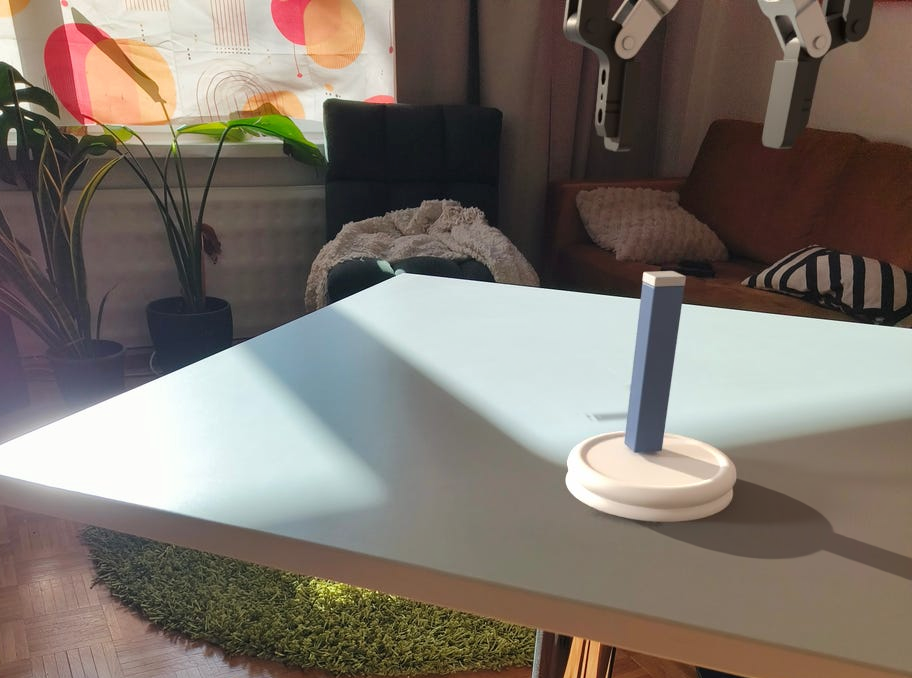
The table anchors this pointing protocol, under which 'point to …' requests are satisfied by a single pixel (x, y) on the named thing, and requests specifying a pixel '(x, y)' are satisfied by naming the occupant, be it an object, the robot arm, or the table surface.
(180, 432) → the table surface
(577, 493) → the coaster
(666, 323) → the blue square bar
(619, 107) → the robot arm
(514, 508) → the table surface
